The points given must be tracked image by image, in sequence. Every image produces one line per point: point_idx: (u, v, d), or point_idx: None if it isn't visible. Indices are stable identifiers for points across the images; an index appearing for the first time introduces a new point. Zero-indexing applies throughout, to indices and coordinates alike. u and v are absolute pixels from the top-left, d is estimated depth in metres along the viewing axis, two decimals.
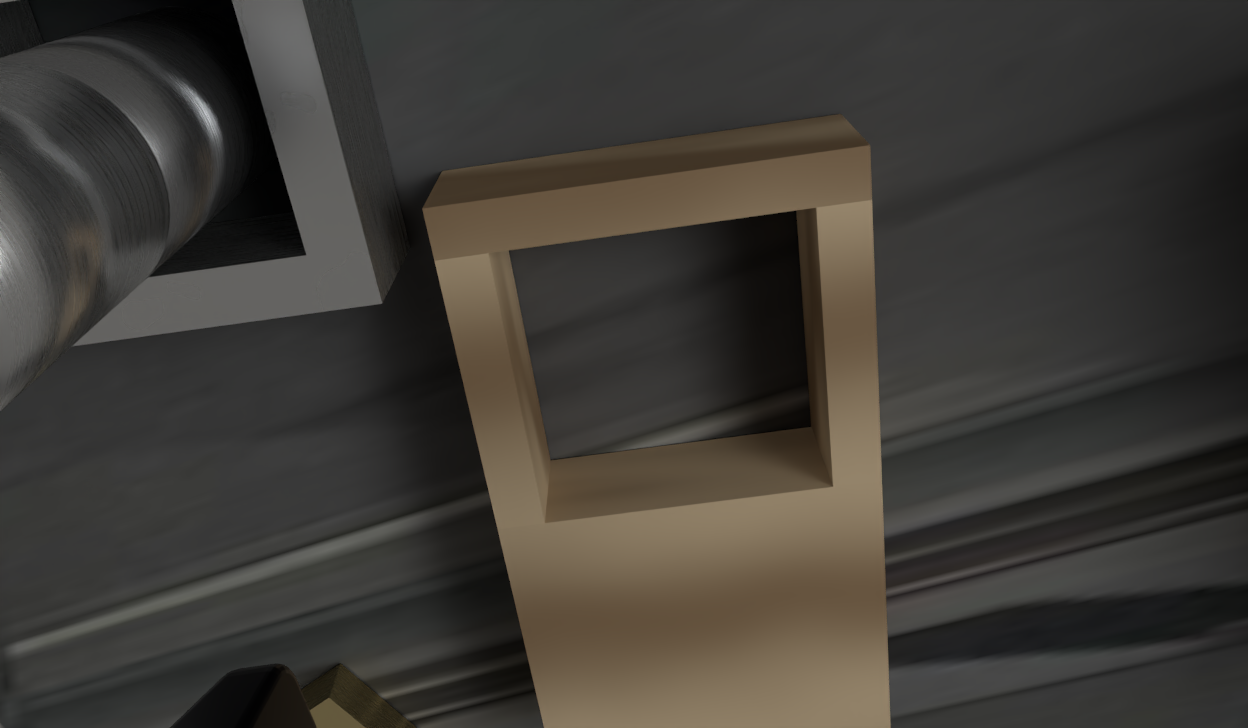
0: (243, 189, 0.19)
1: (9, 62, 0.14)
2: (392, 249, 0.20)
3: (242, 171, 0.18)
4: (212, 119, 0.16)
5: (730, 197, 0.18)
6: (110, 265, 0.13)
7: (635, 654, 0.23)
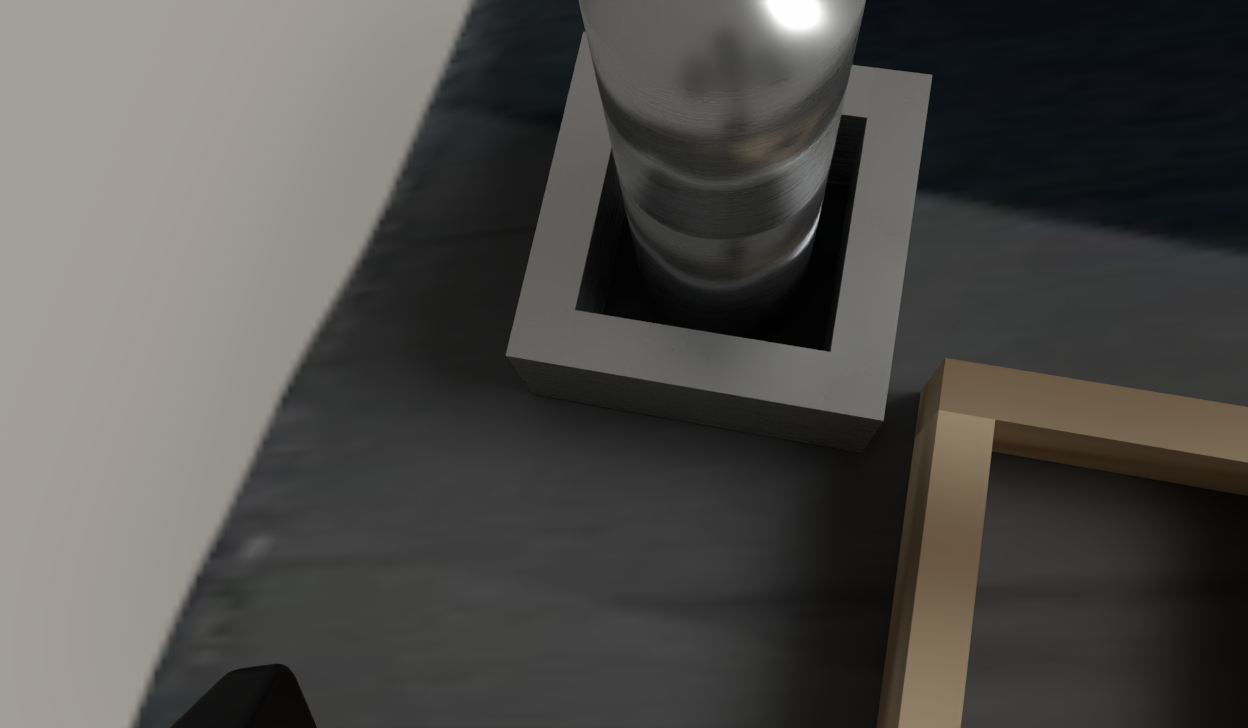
0: (767, 312, 0.20)
1: None
2: None
3: (796, 275, 0.20)
4: None
5: None
6: (832, 123, 0.14)
7: None
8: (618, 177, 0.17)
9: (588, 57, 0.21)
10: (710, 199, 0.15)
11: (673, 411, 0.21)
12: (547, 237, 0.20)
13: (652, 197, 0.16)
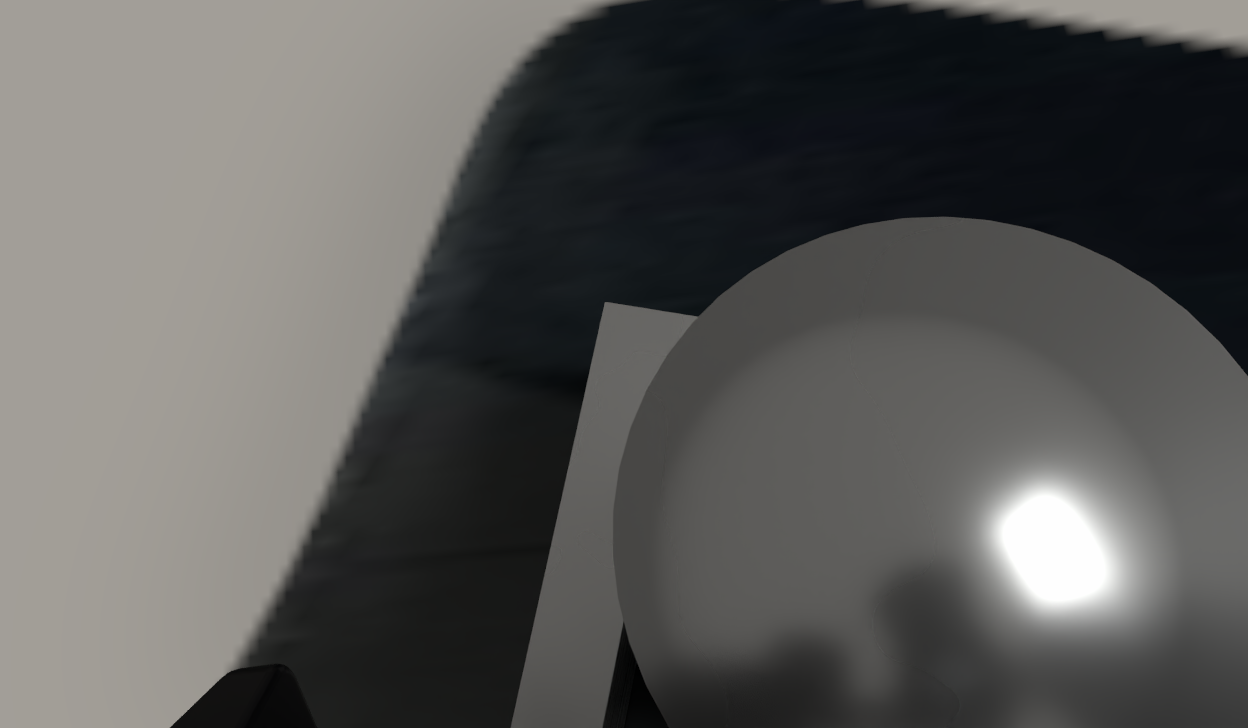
0: None
1: None
2: None
3: None
4: None
5: None
6: None
7: None
8: None
9: (612, 344, 0.14)
10: None
11: None
12: (550, 644, 0.13)
13: None
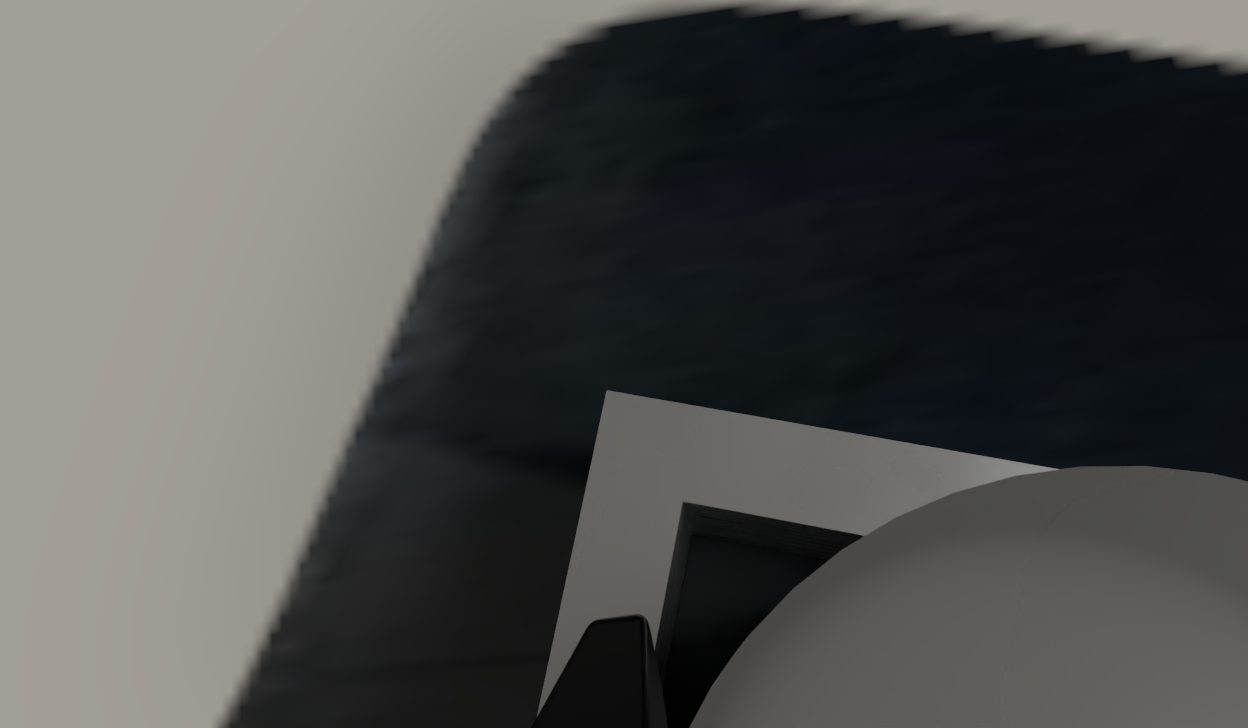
0: None
1: None
2: None
3: None
4: None
5: None
6: None
7: None
8: None
9: (616, 442, 0.12)
10: None
11: None
12: None
13: None
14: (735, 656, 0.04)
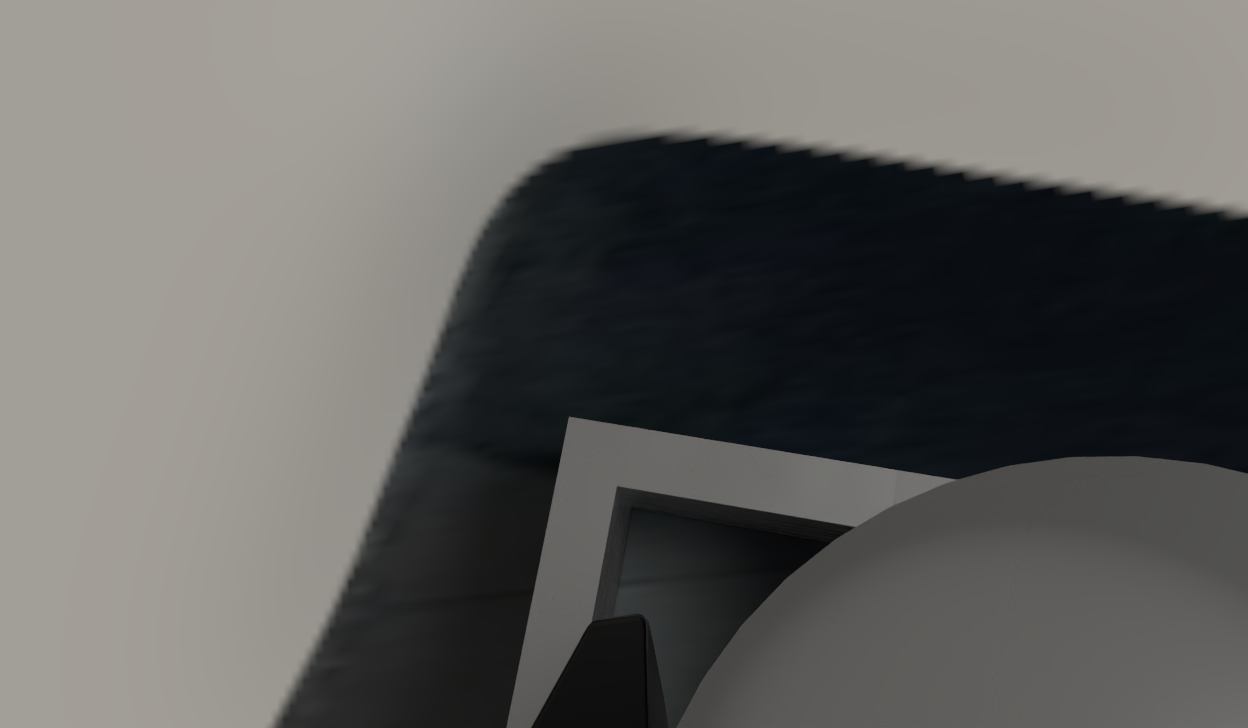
0: None
1: None
2: None
3: None
4: None
5: None
6: None
7: None
8: None
9: (575, 450, 0.19)
10: None
11: None
12: (532, 674, 0.18)
13: None
14: (728, 647, 0.04)
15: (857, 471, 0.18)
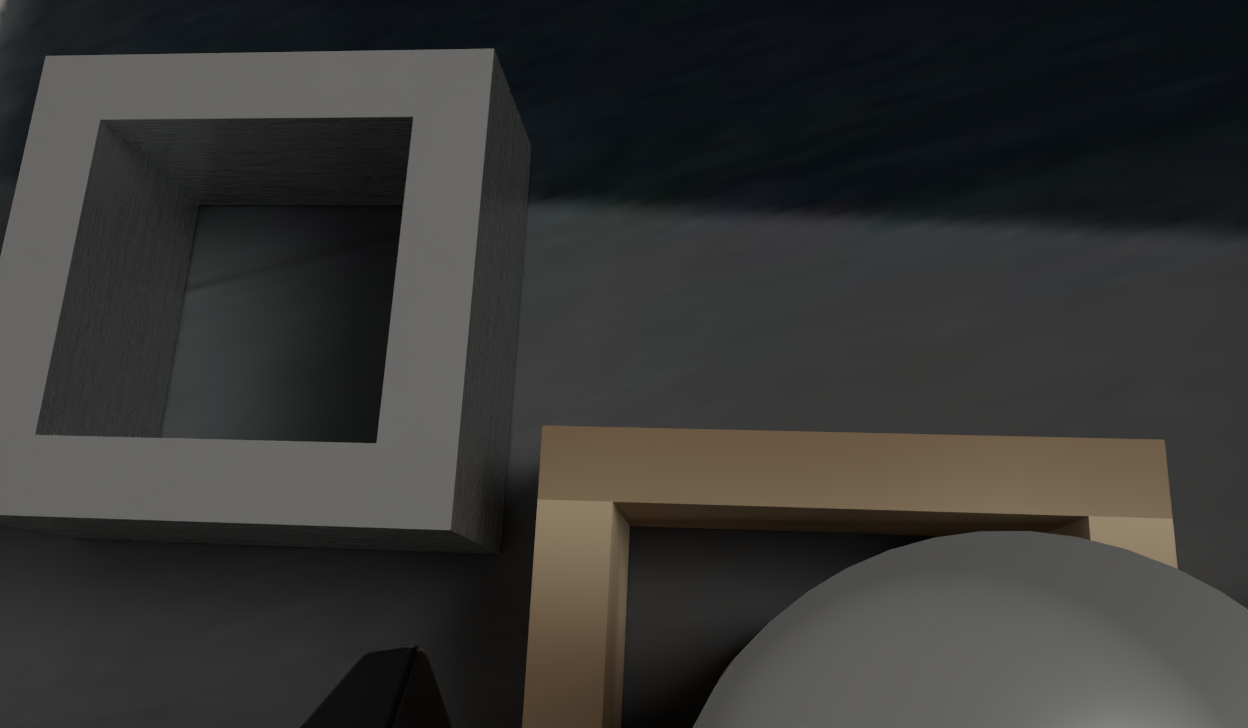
0: None
1: None
2: (482, 511, 0.15)
3: None
4: None
5: (962, 480, 0.13)
6: None
7: None
8: None
9: (51, 88, 0.16)
10: None
11: (237, 539, 0.16)
12: None
13: None
14: (729, 670, 0.05)
15: (375, 58, 0.15)
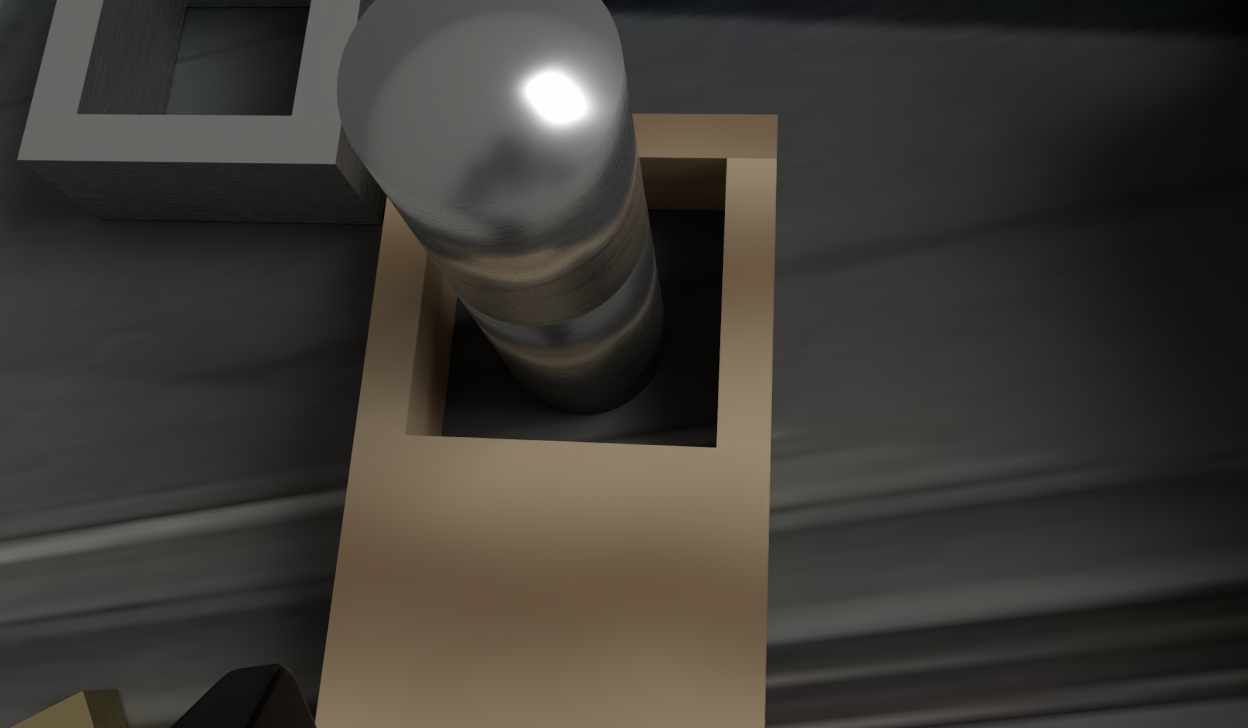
0: (613, 384, 0.21)
1: None
2: (364, 178, 0.23)
3: (637, 350, 0.20)
4: (656, 278, 0.19)
5: (653, 139, 0.21)
6: (618, 223, 0.15)
7: (453, 642, 0.19)
8: None
9: None
10: (503, 293, 0.15)
11: (206, 207, 0.24)
12: (53, 58, 0.23)
13: (456, 286, 0.16)
14: None
15: None
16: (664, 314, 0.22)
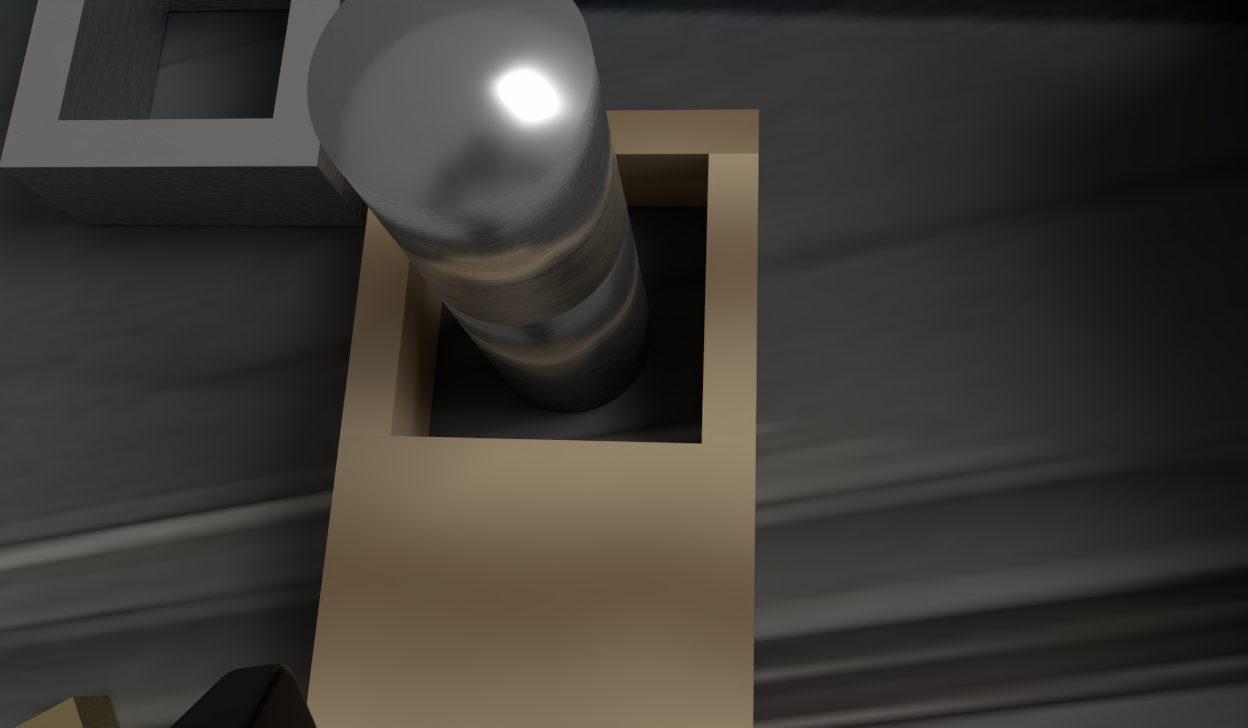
0: (599, 381, 0.21)
1: None
2: (347, 180, 0.23)
3: (621, 347, 0.20)
4: (638, 274, 0.19)
5: (635, 136, 0.21)
6: (595, 221, 0.15)
7: (441, 642, 0.19)
8: None
9: None
10: (481, 292, 0.15)
11: (190, 211, 0.24)
12: (34, 65, 0.22)
13: (435, 286, 0.16)
14: None
15: None
16: (649, 311, 0.22)
